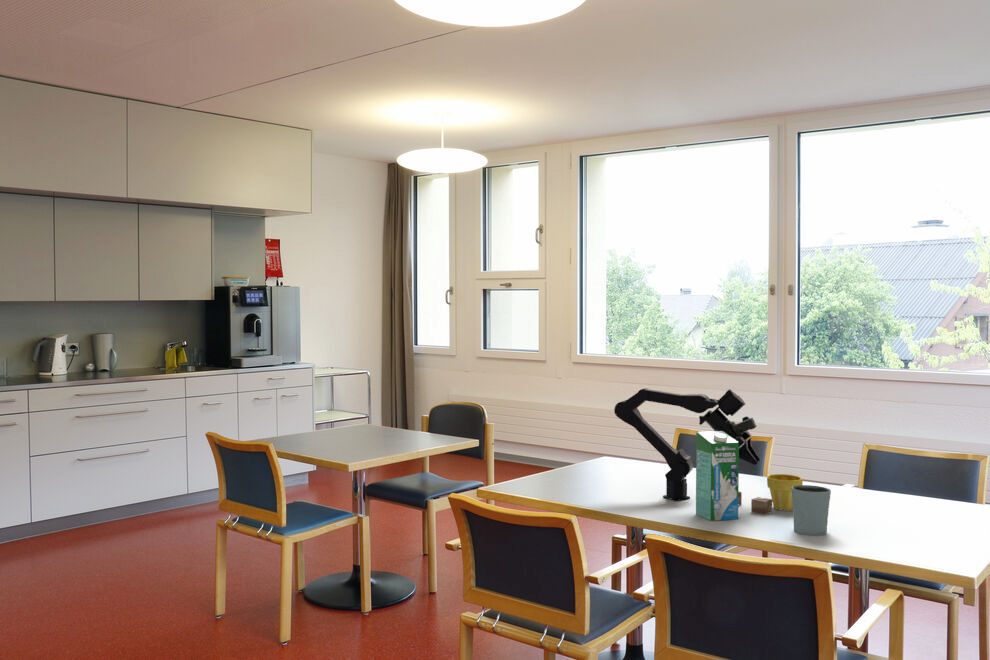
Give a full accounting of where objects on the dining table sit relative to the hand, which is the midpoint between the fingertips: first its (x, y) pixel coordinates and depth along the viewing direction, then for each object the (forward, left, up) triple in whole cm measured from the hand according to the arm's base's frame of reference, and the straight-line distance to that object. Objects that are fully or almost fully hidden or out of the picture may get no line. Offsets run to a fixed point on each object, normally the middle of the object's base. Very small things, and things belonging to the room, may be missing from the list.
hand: (757, 462), depth 256 cm
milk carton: (-22, -2, -14) cm, 26 cm away
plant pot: (+4, -7, -14) cm, 16 cm away
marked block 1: (-4, +7, -14) cm, 16 cm away
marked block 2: (-6, -6, -14) cm, 16 cm away
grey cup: (-14, -28, -14) cm, 34 cm away
